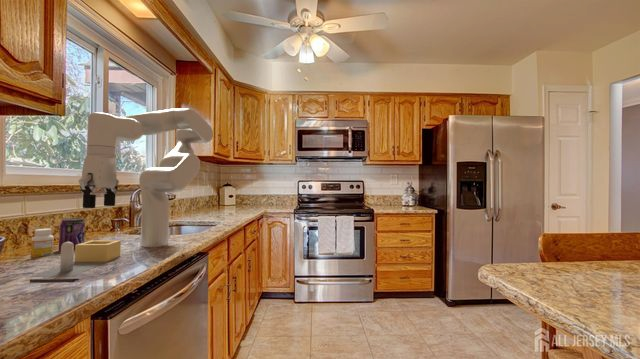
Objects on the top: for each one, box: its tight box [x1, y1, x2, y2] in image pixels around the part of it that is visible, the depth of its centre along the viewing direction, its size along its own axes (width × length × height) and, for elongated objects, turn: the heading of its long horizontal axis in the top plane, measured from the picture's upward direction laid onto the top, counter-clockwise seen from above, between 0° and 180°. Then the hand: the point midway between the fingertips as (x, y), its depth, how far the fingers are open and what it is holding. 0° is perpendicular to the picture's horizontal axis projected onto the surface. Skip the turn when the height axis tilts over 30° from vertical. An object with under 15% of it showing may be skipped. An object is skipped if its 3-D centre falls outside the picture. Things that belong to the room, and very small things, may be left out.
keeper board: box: [29, 242, 126, 284], centre depth 86 cm, size 24×10×9 cm, turn 5°
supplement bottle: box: [30, 228, 55, 259], centre depth 96 cm, size 5×5×10 cm
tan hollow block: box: [74, 240, 122, 262], centre depth 92 cm, size 7×9×5 cm
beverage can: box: [58, 217, 86, 252], centre depth 106 cm, size 7×7×12 cm
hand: (99, 206), depth 92 cm, fingers open, 9 cm apart
